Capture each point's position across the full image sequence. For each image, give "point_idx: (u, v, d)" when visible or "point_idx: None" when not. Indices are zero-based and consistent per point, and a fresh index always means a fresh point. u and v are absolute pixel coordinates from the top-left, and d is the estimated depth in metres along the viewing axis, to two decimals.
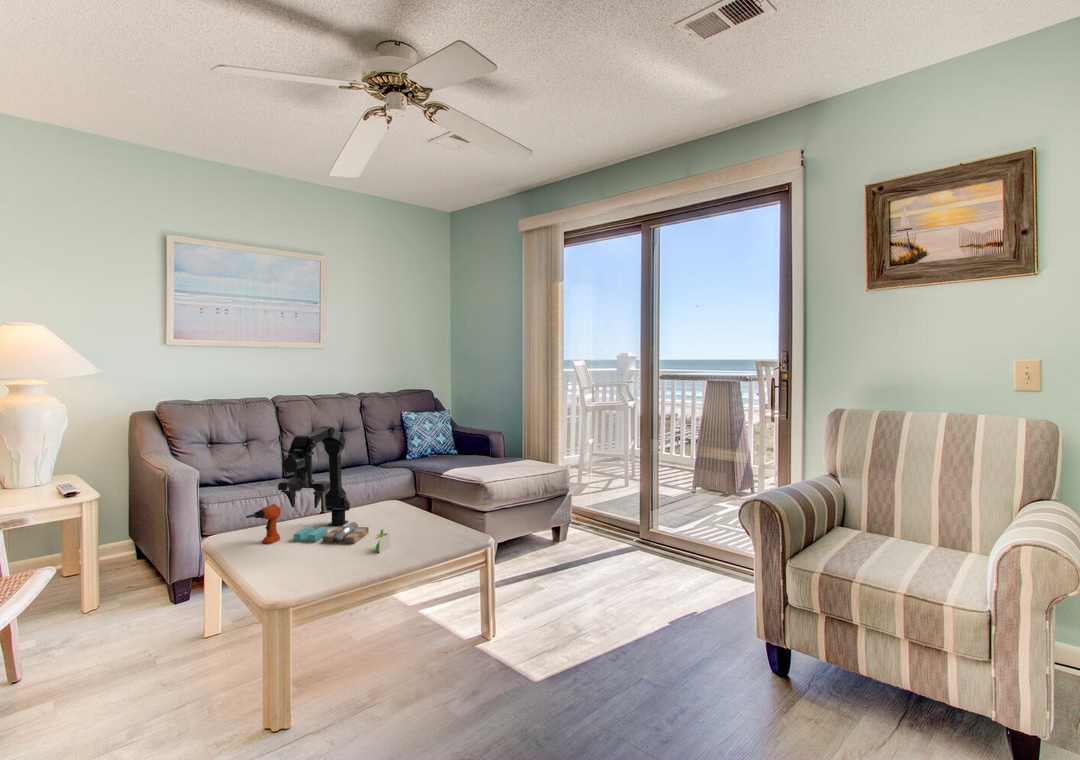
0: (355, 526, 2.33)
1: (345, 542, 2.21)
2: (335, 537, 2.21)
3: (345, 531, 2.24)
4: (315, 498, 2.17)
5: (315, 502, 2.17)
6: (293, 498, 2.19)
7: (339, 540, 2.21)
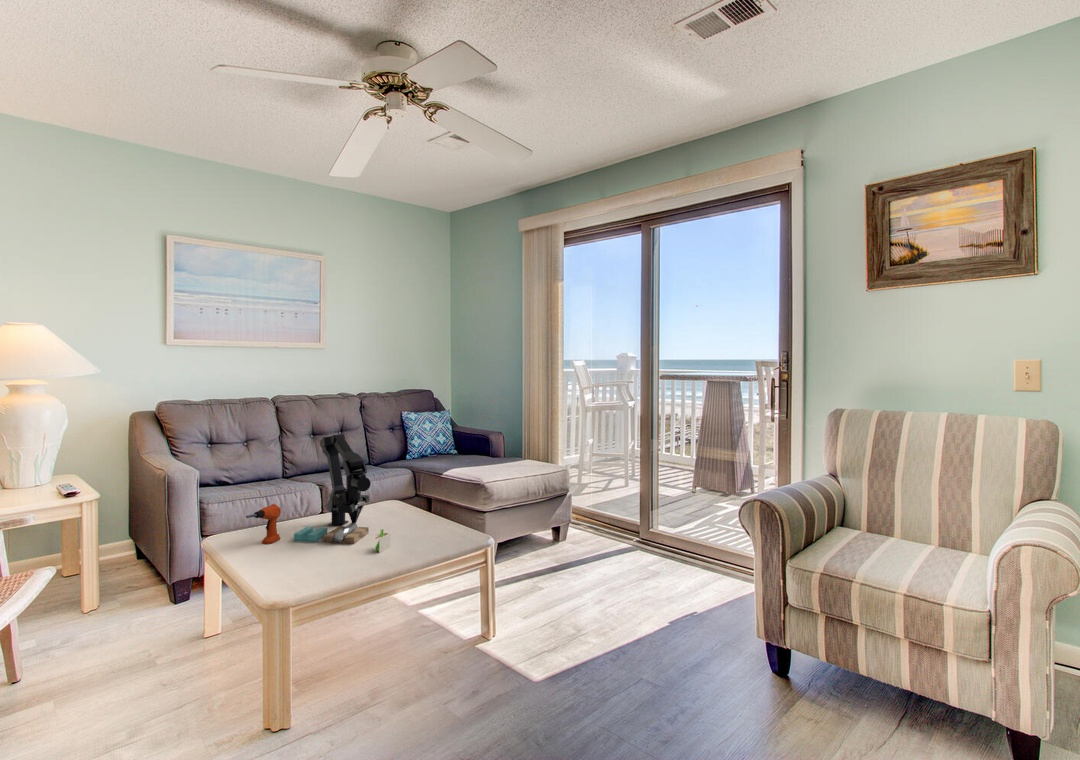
0: (354, 526, 2.32)
1: (345, 542, 2.21)
2: (334, 537, 2.21)
3: (344, 531, 2.24)
4: None
5: None
6: None
7: (338, 540, 2.21)
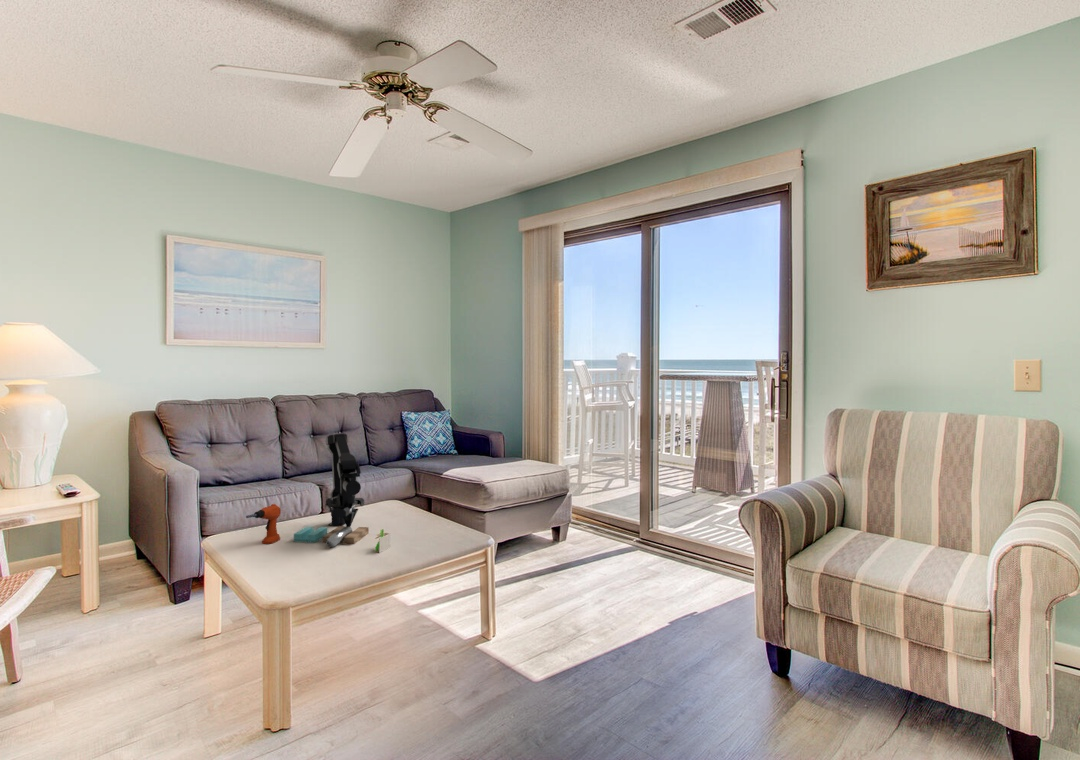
0: (349, 530, 2.27)
1: (345, 542, 2.21)
2: (328, 542, 2.16)
3: (338, 536, 2.19)
4: None
5: None
6: None
7: (332, 545, 2.16)
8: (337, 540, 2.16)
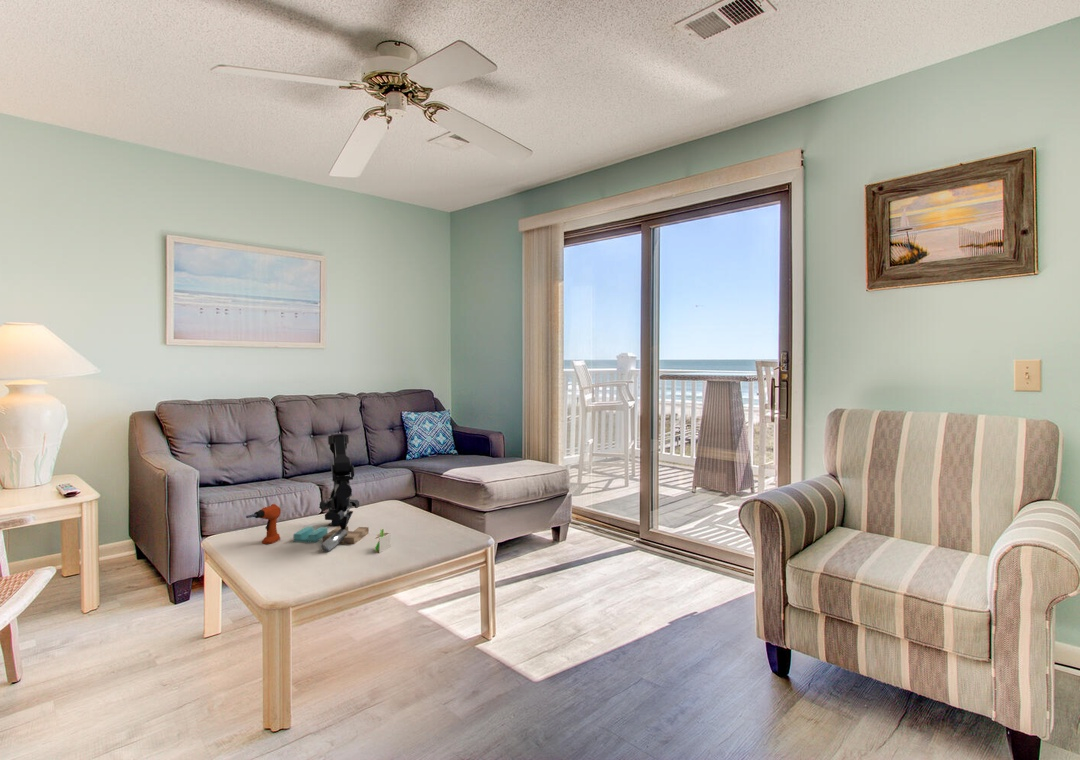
0: (344, 533, 2.23)
1: (345, 542, 2.21)
2: (323, 546, 2.11)
3: (333, 540, 2.14)
4: None
5: None
6: None
7: (327, 549, 2.11)
8: (332, 544, 2.12)
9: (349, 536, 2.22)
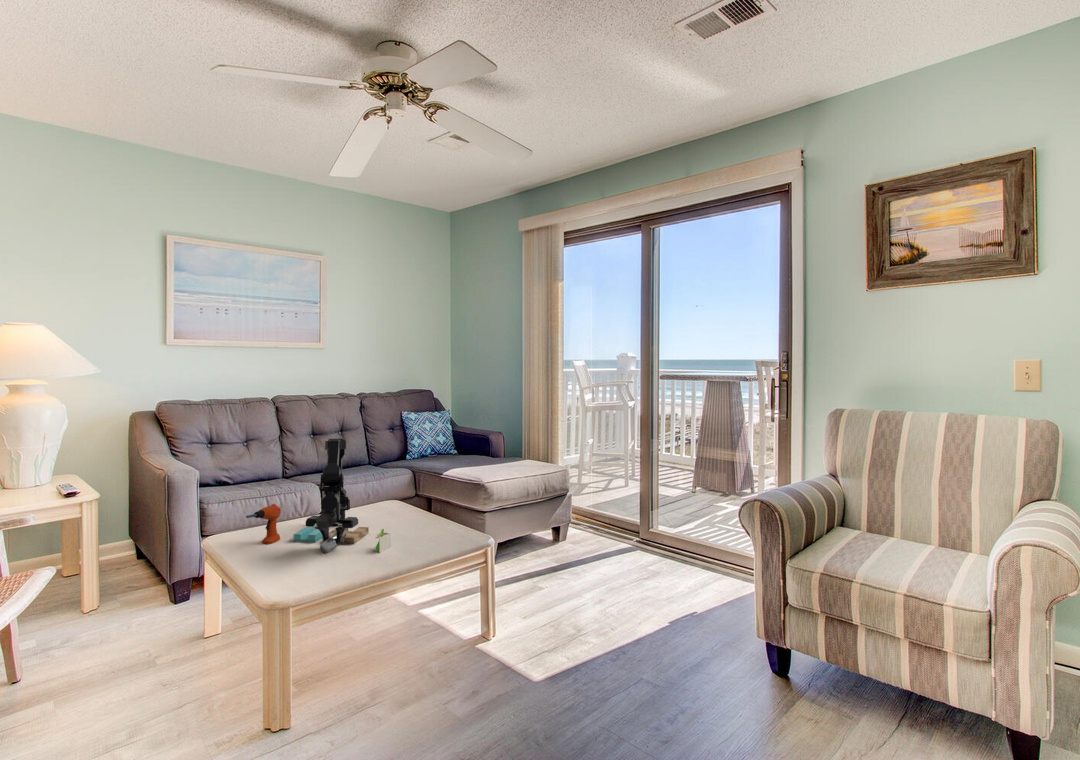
0: (343, 534, 2.22)
1: (345, 542, 2.21)
2: (321, 548, 2.10)
3: (332, 541, 2.13)
4: (337, 534, 2.15)
5: (337, 538, 2.15)
6: (327, 534, 2.17)
7: (326, 551, 2.10)
8: (331, 546, 2.11)
9: (349, 536, 2.22)
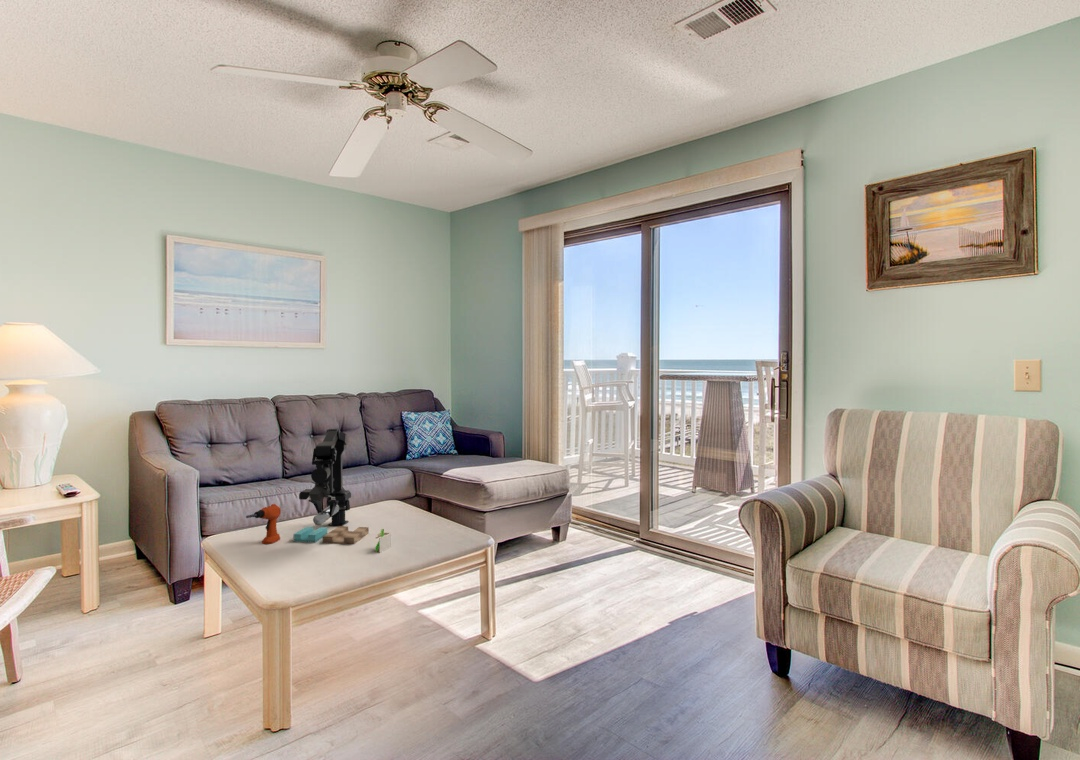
0: (336, 507, 2.25)
1: (345, 542, 2.21)
2: (315, 520, 2.14)
3: (325, 513, 2.17)
4: (330, 507, 2.18)
5: (330, 511, 2.19)
6: (320, 507, 2.20)
7: (319, 523, 2.14)
8: (324, 518, 2.15)
9: (349, 536, 2.22)
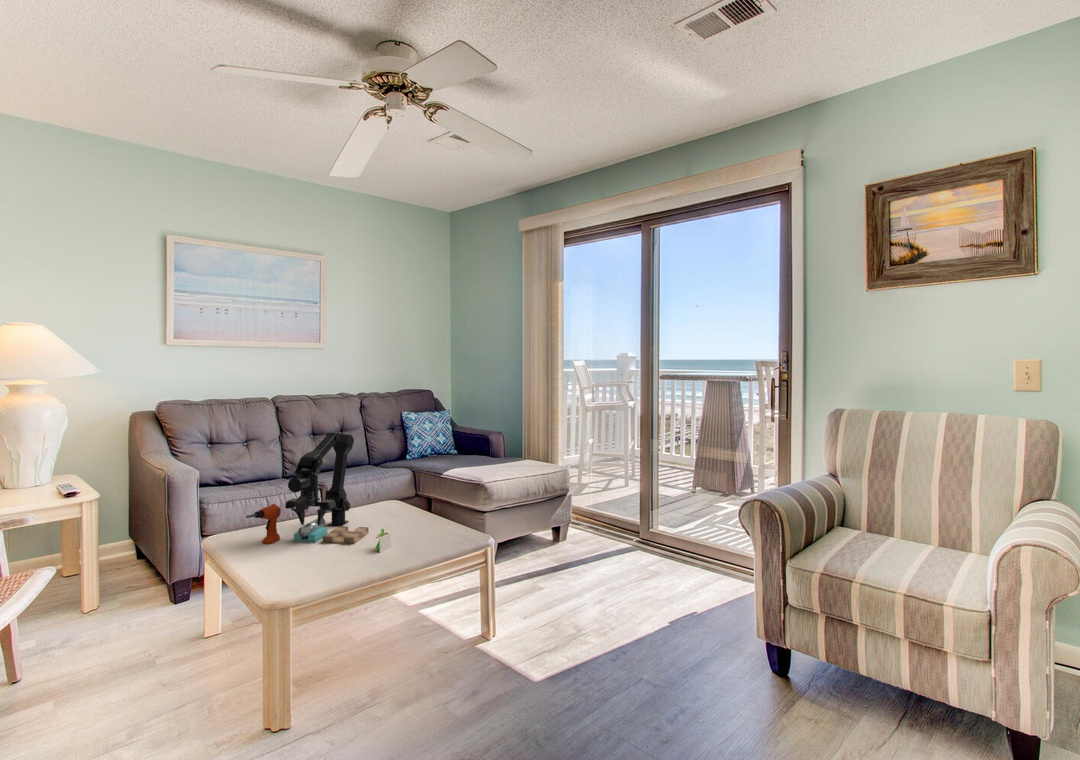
0: (322, 521, 2.33)
1: (345, 542, 2.21)
2: (300, 532, 2.22)
3: (310, 526, 2.25)
4: (318, 516, 2.26)
5: (318, 520, 2.26)
6: (302, 516, 2.28)
7: (304, 535, 2.22)
8: (309, 530, 2.23)
9: (349, 536, 2.22)
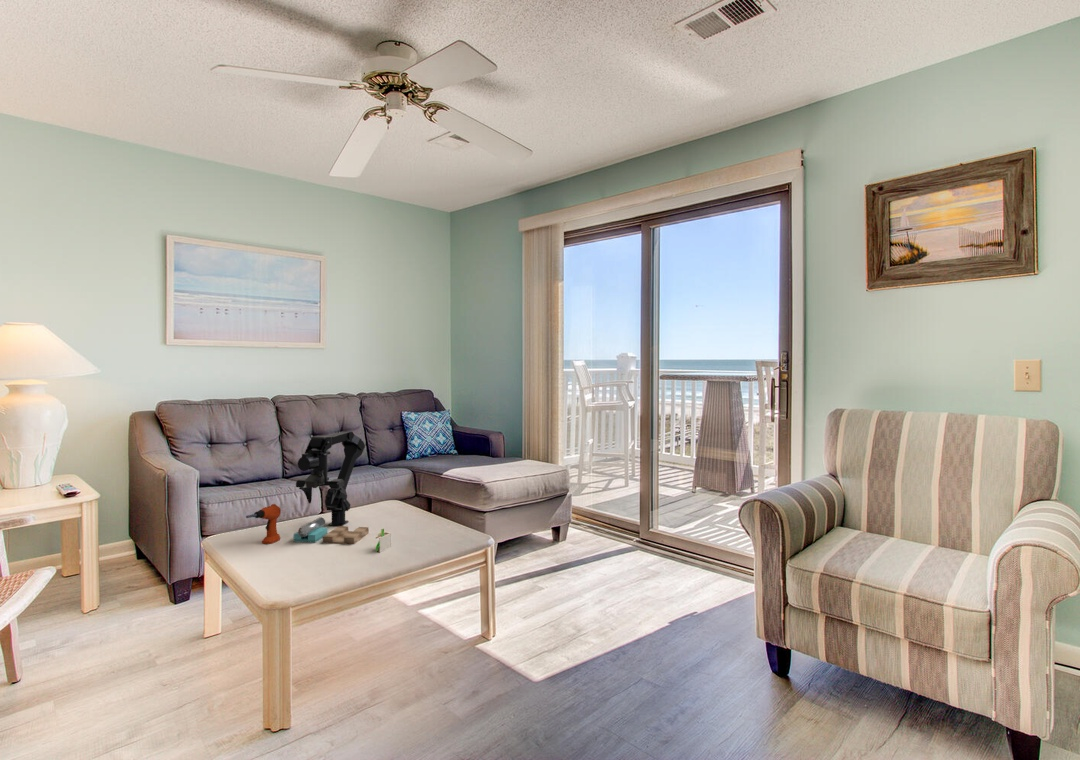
0: (322, 521, 2.33)
1: (345, 542, 2.21)
2: (300, 532, 2.22)
3: (310, 526, 2.25)
4: (330, 495, 2.33)
5: (330, 498, 2.34)
6: (310, 495, 2.36)
7: (304, 535, 2.22)
8: (309, 530, 2.23)
9: (349, 536, 2.22)
